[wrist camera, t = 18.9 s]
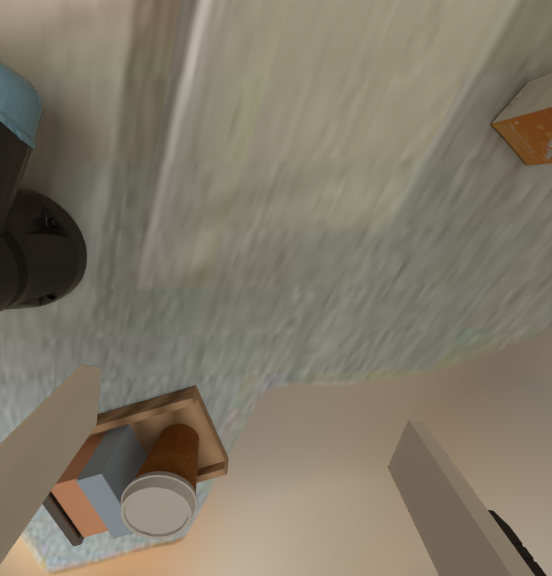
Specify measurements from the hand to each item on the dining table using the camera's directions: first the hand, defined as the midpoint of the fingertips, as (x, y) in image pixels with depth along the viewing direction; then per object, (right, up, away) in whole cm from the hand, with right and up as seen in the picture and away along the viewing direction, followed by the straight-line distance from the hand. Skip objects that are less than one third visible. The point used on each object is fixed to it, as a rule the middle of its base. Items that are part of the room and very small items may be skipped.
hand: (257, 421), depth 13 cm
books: (-24, -22, +37) cm, 49 cm away
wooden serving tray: (-20, -20, +38) cm, 47 cm away
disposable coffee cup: (-15, -19, +37) cm, 44 cm away
